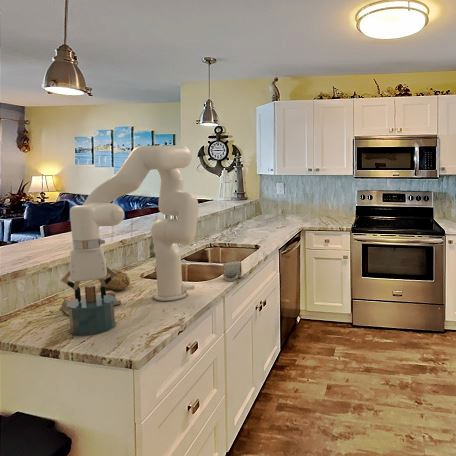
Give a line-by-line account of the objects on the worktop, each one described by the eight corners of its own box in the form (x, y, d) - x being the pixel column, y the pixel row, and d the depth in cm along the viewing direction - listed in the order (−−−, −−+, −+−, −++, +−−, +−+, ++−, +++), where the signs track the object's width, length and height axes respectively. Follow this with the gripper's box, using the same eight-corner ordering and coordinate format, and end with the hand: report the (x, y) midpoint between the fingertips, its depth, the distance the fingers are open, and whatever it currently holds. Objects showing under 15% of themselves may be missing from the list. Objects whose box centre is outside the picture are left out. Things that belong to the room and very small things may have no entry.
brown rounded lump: (103, 285, 187) (91, 288, 168) (106, 267, 188) (95, 269, 169) (134, 288, 190) (126, 291, 171) (137, 271, 191) (129, 273, 172)
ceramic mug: (224, 275, 198) (224, 260, 197) (242, 275, 199) (241, 259, 198) (221, 282, 188) (221, 265, 187) (240, 281, 189) (239, 265, 187)
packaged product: (67, 303, 143) (59, 297, 150) (68, 316, 144) (60, 309, 151) (120, 292, 156) (111, 286, 163) (121, 304, 157) (112, 298, 164)
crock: (114, 318, 143) (112, 294, 141) (115, 330, 132) (113, 305, 130) (72, 324, 137) (70, 299, 136) (69, 338, 126) (67, 311, 125)
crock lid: (114, 295, 142) (113, 278, 141) (115, 307, 130) (114, 288, 129) (68, 301, 136) (66, 283, 135) (65, 314, 124) (63, 294, 123)
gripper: (116, 240, 137) (120, 292, 140) (55, 244, 130) (60, 300, 132) (117, 244, 131) (121, 298, 134) (53, 249, 123) (58, 307, 126)
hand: (91, 298), depth 133 cm, fingers open, 5 cm apart
